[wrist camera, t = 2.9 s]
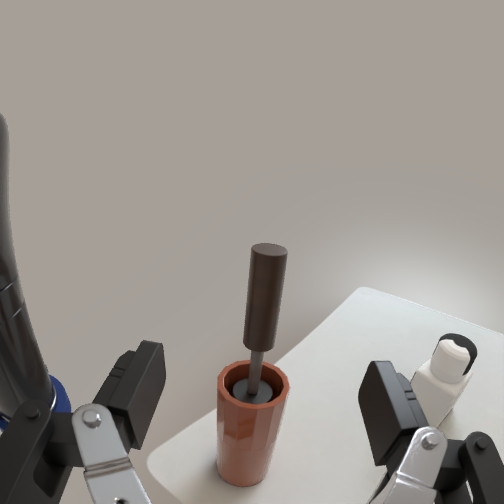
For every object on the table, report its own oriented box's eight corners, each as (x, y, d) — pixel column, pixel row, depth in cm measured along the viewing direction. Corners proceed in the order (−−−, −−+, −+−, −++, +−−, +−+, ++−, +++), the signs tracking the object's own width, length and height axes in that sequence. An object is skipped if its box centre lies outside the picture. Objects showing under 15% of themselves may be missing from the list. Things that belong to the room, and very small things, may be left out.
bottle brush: (241, 445, 22) (261, 261, 17) (224, 420, 25) (233, 242, 19) (272, 432, 24) (306, 255, 18) (254, 409, 27) (276, 238, 21)
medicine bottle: (420, 385, 40) (449, 322, 36) (453, 406, 34) (488, 343, 30) (397, 406, 36) (429, 339, 32) (433, 431, 30) (474, 365, 26)
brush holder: (232, 494, 24) (239, 419, 19) (207, 456, 28) (205, 369, 23) (278, 474, 26) (304, 393, 22) (251, 440, 31) (264, 352, 26)
